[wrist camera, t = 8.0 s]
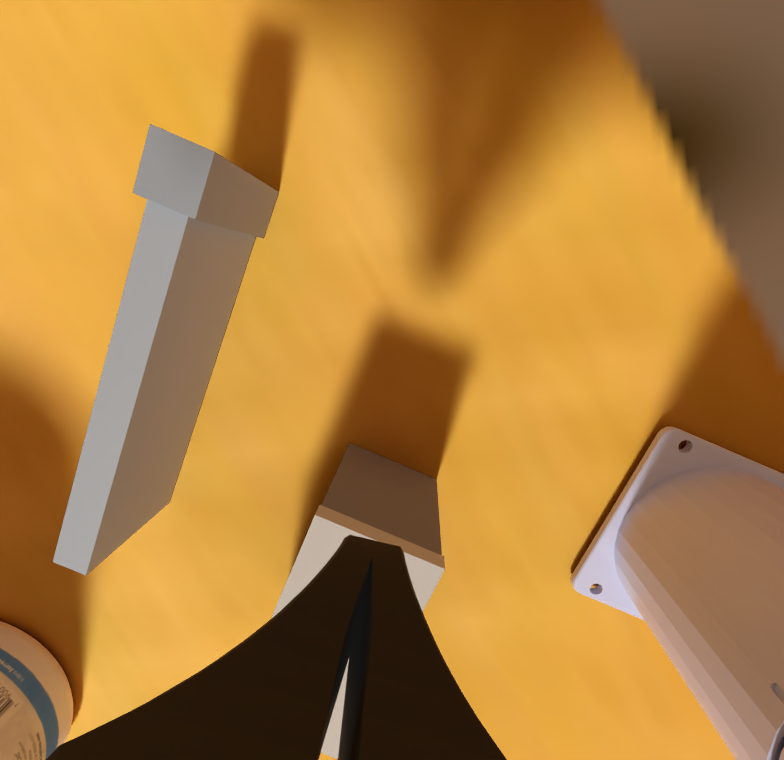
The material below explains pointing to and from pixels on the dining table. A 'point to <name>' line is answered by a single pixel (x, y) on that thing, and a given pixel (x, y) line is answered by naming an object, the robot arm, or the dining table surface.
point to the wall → (162, 340)
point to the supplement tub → (31, 698)
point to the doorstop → (371, 534)
